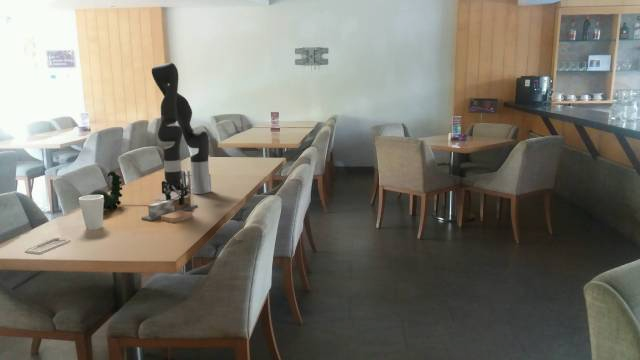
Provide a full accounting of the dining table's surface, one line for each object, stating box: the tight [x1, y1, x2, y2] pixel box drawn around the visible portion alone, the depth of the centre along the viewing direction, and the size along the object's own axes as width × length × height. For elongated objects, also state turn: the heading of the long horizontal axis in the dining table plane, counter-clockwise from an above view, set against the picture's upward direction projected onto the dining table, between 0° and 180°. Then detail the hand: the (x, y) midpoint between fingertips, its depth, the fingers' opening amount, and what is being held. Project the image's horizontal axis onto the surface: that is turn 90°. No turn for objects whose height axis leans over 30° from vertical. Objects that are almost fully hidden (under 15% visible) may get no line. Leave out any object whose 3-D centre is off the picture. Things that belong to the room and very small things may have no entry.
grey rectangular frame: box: [24, 237, 71, 255], centre depth 191 cm, size 7×1×15 cm
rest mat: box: [141, 203, 199, 222], centre depth 236 cm, size 28×6×1 cm, turn 148°
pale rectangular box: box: [147, 195, 192, 217], centre depth 235 cm, size 22×3×5 cm, turn 148°
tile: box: [160, 210, 194, 223], centre depth 226 cm, size 2×8×11 cm
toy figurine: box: [89, 170, 123, 211], centre depth 240 cm, size 9×19×25 cm
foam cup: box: [78, 194, 104, 231], centre depth 213 cm, size 10×9×13 cm
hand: (175, 204), depth 237 cm, fingers open, 8 cm apart
